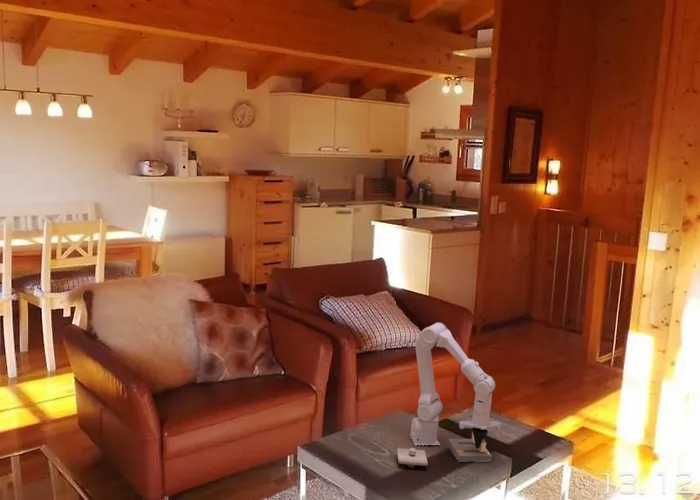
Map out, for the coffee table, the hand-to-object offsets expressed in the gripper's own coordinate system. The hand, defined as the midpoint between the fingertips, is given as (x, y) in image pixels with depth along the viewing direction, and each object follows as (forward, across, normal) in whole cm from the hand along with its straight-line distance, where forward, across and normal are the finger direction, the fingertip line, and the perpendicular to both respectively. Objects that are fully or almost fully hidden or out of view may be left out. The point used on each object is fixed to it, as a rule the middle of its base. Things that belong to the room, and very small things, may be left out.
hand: (477, 447), depth 230 cm
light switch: (+4, -24, -4) cm, 25 cm away
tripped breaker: (+1, +2, 0) cm, 2 cm away
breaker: (+1, +1, +6) cm, 6 cm away
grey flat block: (+4, -2, +3) cm, 5 cm away
